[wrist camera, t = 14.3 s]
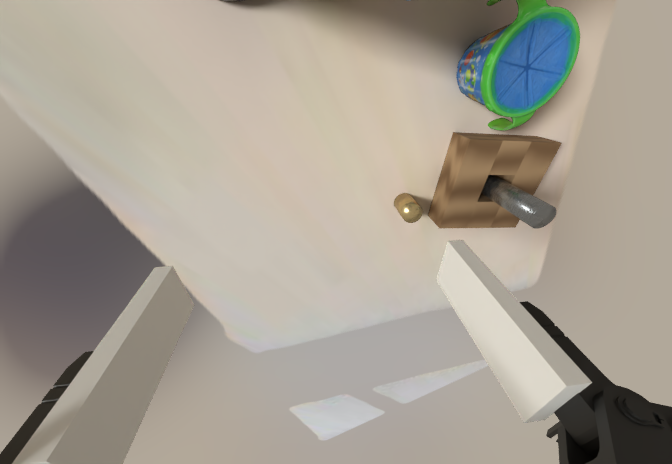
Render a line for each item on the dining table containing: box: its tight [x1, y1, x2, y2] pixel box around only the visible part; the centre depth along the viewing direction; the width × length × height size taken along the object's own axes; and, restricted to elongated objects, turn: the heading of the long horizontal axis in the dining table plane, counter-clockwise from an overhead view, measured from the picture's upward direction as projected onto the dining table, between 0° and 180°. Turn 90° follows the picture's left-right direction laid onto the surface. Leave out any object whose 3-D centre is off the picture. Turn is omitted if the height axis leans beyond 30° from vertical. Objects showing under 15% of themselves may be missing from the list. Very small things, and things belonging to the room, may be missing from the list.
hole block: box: [428, 132, 562, 228], centre depth 44 cm, size 16×16×5 cm
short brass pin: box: [394, 193, 423, 223], centre depth 45 cm, size 4×4×5 cm
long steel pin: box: [481, 175, 556, 228], centre depth 40 cm, size 4×4×15 cm
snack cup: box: [457, 0, 580, 130], centre depth 32 cm, size 16×10×10 cm
